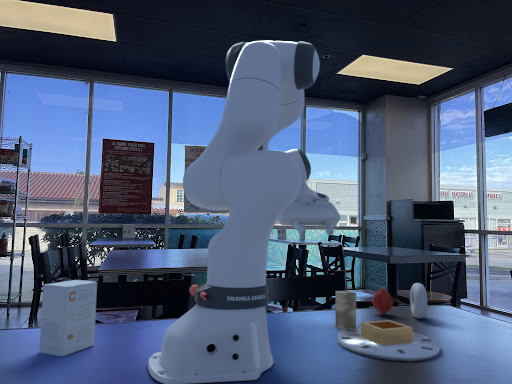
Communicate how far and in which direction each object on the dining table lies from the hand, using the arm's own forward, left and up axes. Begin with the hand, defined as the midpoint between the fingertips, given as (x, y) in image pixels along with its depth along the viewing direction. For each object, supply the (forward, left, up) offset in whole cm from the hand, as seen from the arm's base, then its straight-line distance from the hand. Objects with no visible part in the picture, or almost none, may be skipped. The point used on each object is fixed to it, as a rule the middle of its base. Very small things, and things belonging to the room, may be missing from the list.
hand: (317, 233), depth 114 cm
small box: (-64, -11, -24) cm, 69 cm away
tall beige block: (0, -14, -24) cm, 27 cm away
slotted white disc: (0, -29, -24) cm, 37 cm away
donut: (+27, -11, -24) cm, 38 cm away
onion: (+20, -4, -24) cm, 31 cm away
